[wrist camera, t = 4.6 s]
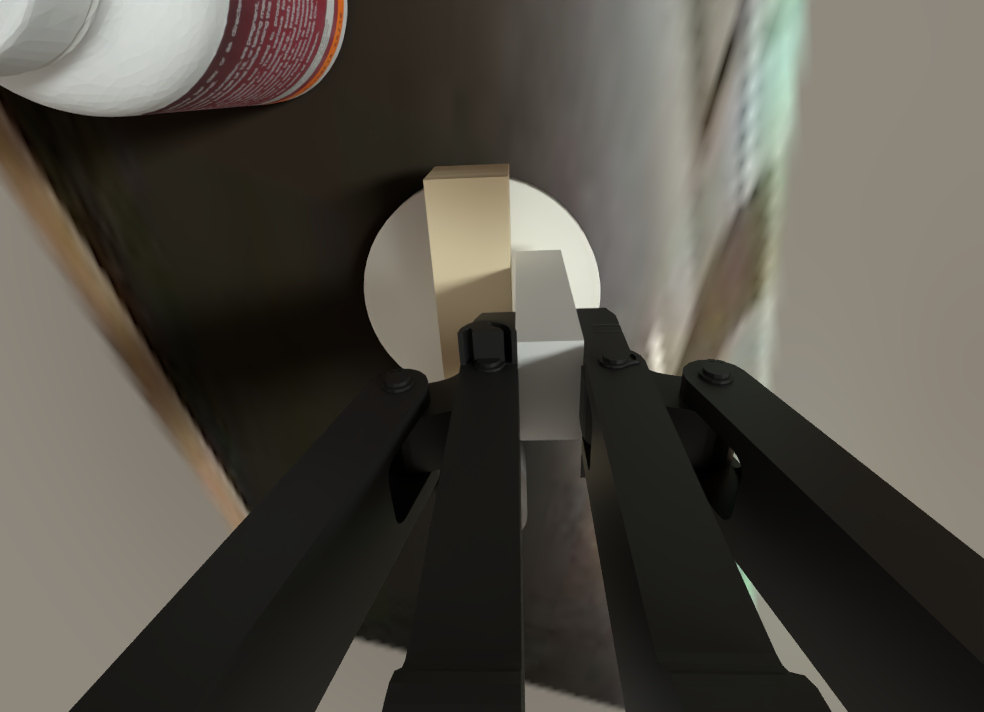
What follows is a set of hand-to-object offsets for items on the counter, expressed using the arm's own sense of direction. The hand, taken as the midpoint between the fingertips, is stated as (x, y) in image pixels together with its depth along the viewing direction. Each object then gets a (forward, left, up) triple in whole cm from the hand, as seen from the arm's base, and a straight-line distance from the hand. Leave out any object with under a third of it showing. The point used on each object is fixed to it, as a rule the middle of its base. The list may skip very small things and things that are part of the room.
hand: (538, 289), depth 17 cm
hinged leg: (+3, -2, -2) cm, 5 cm away
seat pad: (+1, -2, -3) cm, 3 cm away
